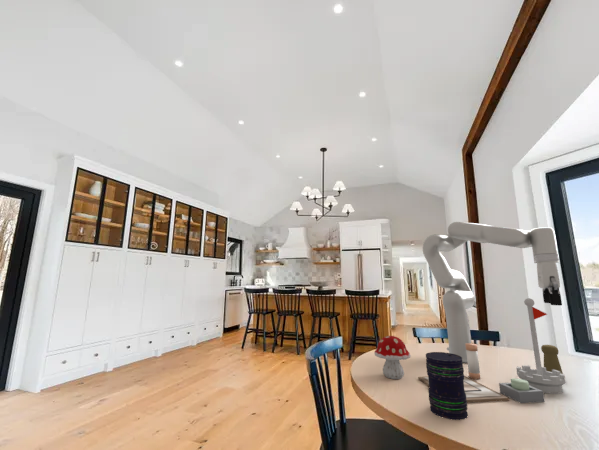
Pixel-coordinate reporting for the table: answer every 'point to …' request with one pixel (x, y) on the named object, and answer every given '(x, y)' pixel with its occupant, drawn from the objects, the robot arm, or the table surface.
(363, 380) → the table surface
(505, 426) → the table surface
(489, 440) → the table surface
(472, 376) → the marker
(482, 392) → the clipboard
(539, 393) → the button housing
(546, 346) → the cork
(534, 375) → the flag stand
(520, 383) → the button
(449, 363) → the navy striped cylinder
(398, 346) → the decorative mushroom
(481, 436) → the table surface
